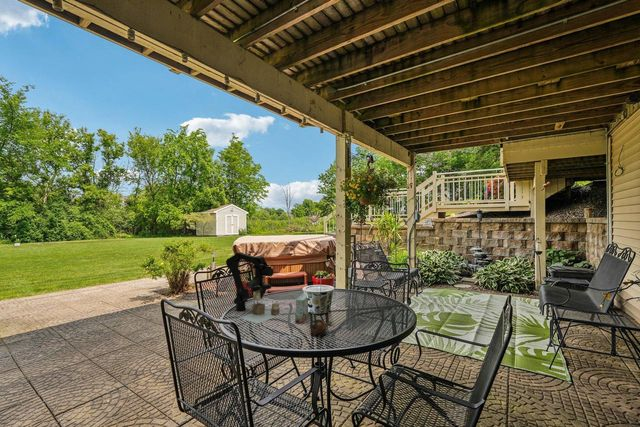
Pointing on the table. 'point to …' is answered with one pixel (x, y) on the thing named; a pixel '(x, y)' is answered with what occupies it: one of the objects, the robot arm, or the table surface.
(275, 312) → the tower
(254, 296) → the maple block
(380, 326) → the table surface
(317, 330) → the decorative turtle
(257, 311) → the walnut block
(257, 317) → the board
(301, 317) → the snack box
